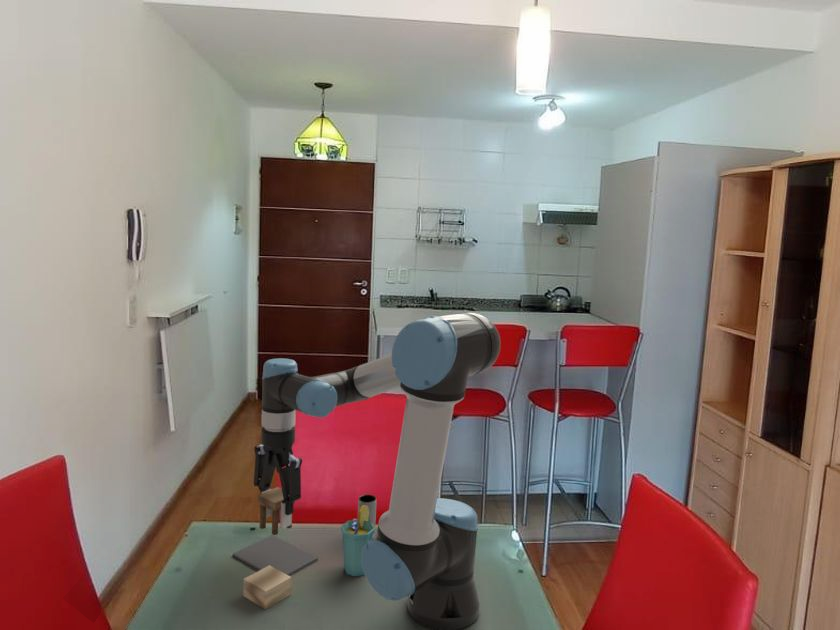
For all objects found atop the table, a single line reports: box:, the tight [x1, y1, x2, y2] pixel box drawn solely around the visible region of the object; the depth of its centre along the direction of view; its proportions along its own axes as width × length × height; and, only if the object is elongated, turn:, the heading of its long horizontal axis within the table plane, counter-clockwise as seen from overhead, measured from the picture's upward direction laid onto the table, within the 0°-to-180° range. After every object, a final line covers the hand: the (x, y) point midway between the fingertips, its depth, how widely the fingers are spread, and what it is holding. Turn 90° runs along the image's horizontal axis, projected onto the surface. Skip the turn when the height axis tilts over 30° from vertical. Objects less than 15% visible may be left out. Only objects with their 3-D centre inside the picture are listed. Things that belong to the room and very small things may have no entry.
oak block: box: [242, 565, 292, 610], centre depth 136 cm, size 7×7×4 cm
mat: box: [232, 534, 319, 577], centre depth 151 cm, size 16×12×1 cm
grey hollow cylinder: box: [357, 494, 377, 540], centre depth 163 cm, size 4×4×10 cm
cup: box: [340, 505, 376, 577], centre depth 146 cm, size 14×8×15 cm, turn 176°
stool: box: [257, 486, 296, 536], centre depth 149 cm, size 6×6×8 cm
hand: (276, 521), depth 150 cm, fingers closed on stool, 6 cm apart
